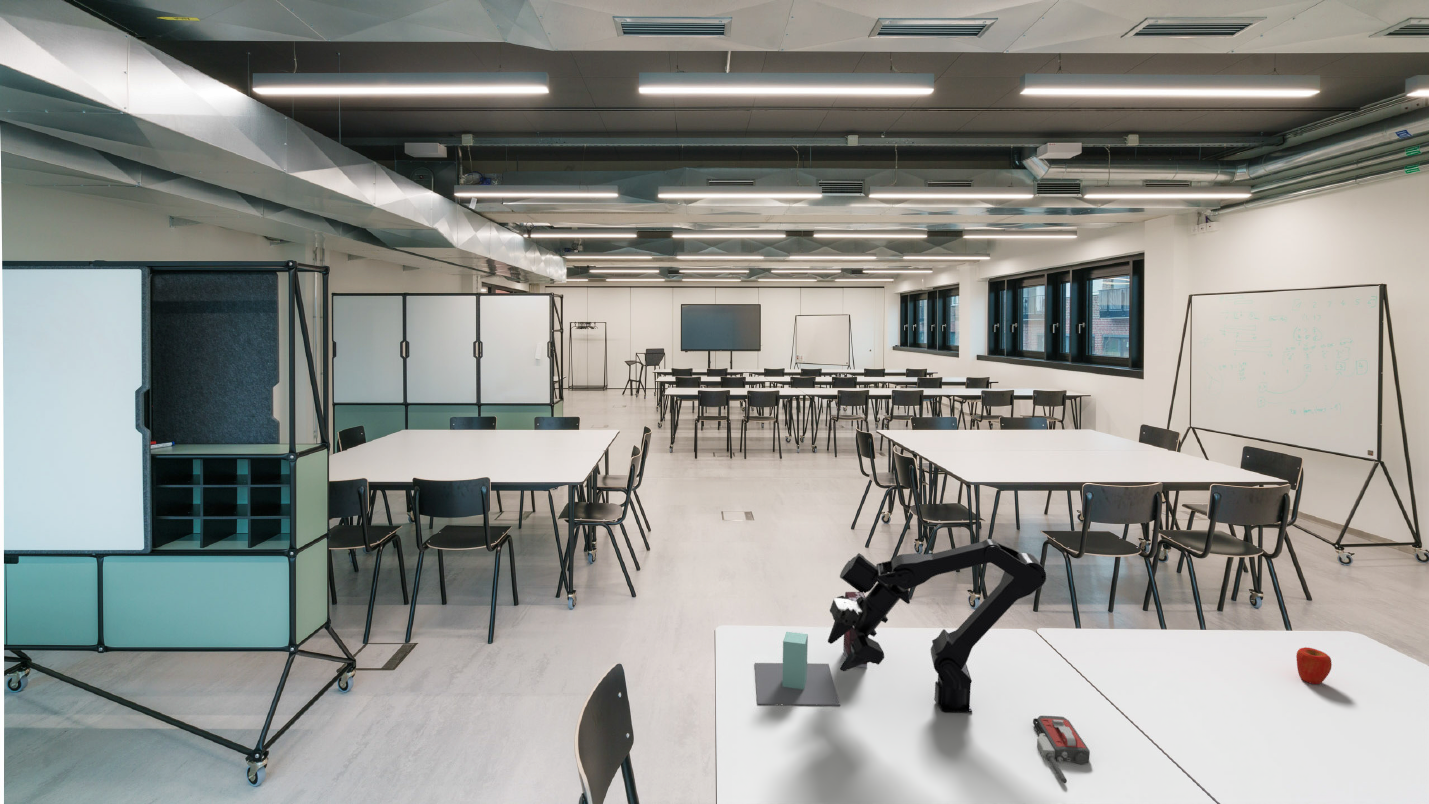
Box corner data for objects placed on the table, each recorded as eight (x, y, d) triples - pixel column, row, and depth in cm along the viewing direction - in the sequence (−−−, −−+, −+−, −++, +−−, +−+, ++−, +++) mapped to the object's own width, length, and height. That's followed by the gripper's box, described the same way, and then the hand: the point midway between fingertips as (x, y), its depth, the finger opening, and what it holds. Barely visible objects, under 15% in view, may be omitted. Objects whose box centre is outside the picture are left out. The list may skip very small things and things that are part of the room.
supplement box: (868, 668, 174) (870, 605, 172) (848, 667, 174) (849, 605, 172) (861, 650, 182) (863, 591, 180) (842, 650, 182) (844, 591, 180)
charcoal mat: (828, 664, 175) (828, 663, 175) (839, 705, 158) (839, 704, 157) (754, 664, 176) (754, 662, 176) (757, 704, 158) (757, 703, 158)
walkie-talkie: (1022, 725, 151) (1058, 788, 131) (1023, 705, 151) (1059, 766, 131) (1065, 727, 150) (1108, 791, 131) (1067, 707, 150) (1110, 769, 130)
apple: (1334, 684, 166) (1338, 654, 165) (1318, 690, 164) (1322, 659, 163) (1304, 672, 172) (1307, 642, 171) (1287, 676, 170) (1291, 647, 169)
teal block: (806, 678, 168) (807, 634, 167) (804, 689, 164) (805, 643, 162) (785, 675, 170) (786, 631, 168) (782, 686, 165) (783, 641, 163)
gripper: (836, 565, 164) (796, 616, 167) (864, 615, 147) (819, 671, 150) (873, 585, 168) (833, 634, 171) (904, 637, 150) (859, 690, 154)
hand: (835, 656), depth 161 cm, fingers open, 9 cm apart
